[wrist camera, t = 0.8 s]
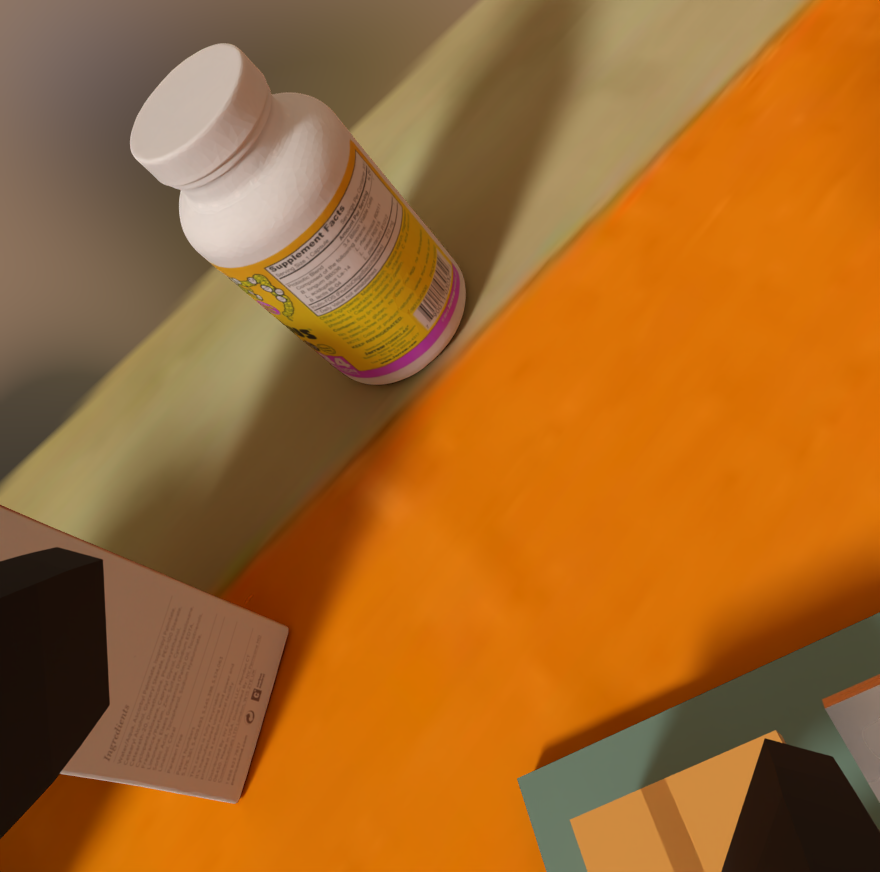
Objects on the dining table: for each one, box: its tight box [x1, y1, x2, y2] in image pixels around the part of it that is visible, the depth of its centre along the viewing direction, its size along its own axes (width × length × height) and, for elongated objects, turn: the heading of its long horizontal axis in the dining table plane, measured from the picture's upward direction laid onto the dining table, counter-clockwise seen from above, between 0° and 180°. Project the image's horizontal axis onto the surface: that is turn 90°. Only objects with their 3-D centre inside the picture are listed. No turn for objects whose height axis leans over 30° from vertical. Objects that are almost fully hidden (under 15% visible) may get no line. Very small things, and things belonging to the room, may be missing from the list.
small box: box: [0, 505, 289, 803], centre depth 27 cm, size 8×6×13 cm
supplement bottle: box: [130, 43, 466, 385], centre depth 31 cm, size 7×7×13 cm
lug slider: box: [570, 730, 786, 872], centre depth 19 cm, size 2×5×4 cm, turn 108°
